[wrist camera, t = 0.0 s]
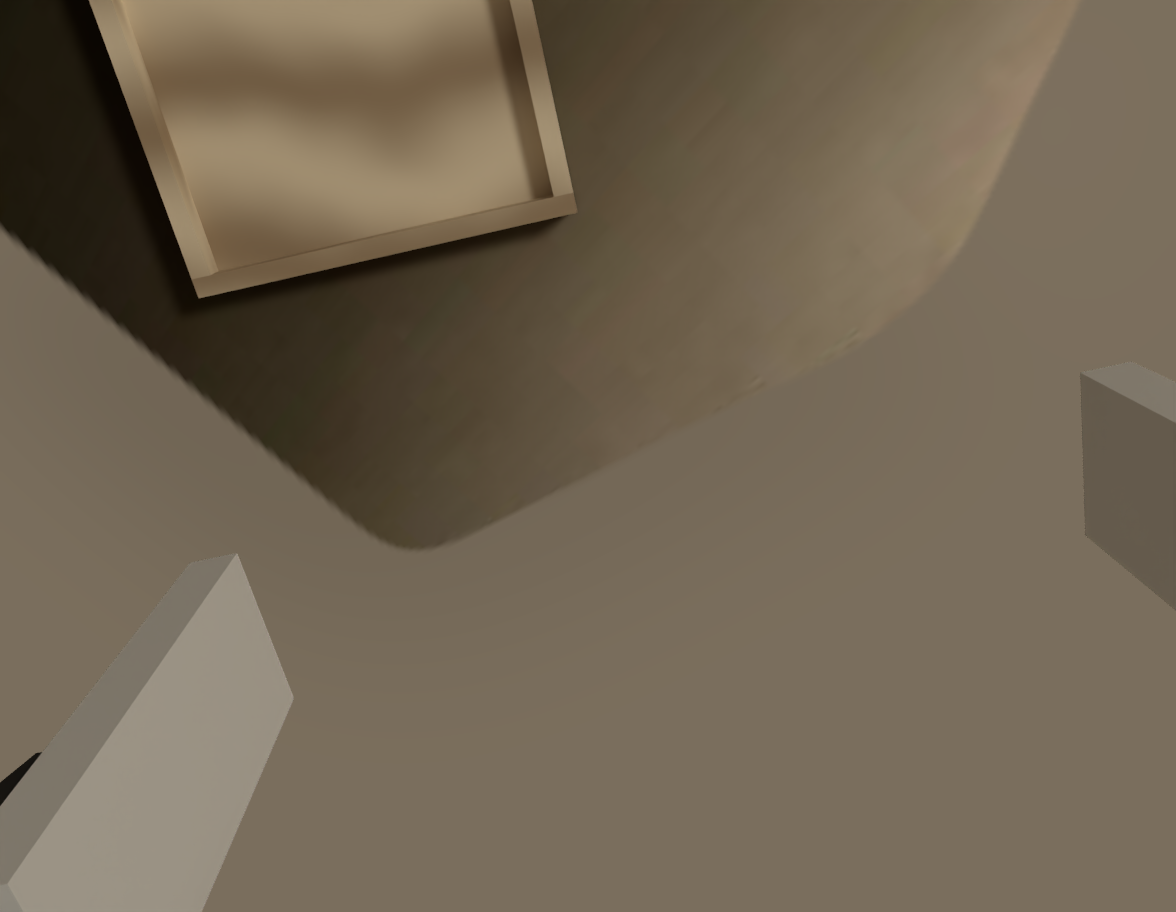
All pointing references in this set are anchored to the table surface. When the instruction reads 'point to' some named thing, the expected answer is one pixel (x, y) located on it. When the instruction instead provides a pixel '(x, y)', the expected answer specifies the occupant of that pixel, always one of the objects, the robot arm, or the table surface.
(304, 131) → the tray
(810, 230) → the table surface
